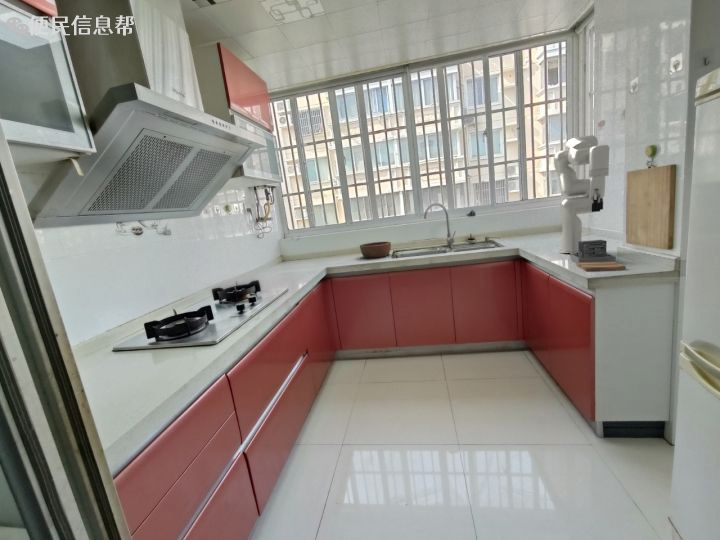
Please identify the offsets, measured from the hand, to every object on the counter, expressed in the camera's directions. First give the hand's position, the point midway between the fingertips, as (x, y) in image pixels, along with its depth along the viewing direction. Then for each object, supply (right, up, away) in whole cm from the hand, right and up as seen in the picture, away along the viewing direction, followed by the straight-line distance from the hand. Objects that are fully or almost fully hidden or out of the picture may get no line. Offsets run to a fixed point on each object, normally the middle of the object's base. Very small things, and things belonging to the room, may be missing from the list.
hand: (597, 210), depth 156 cm
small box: (+5, -24, +11) cm, 27 cm away
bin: (+5, -24, +11) cm, 27 cm away
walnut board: (-1, -27, -3) cm, 27 cm away
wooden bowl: (-100, -17, +109) cm, 149 cm away
